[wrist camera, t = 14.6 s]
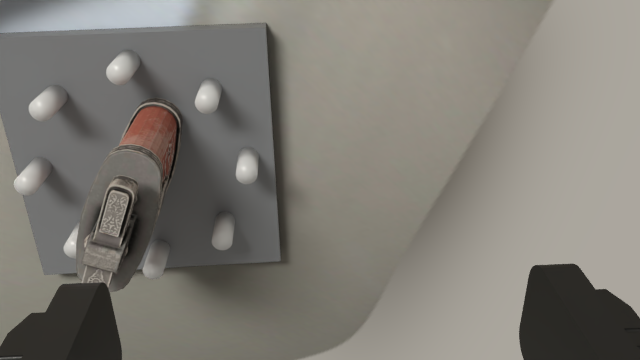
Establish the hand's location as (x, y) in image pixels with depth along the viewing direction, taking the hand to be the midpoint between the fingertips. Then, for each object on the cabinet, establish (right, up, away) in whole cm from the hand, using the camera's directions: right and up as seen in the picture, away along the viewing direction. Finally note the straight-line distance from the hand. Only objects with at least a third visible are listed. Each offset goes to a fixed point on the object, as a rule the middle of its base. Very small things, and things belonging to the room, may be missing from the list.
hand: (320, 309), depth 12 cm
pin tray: (-10, +4, +25) cm, 27 cm away
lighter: (-10, +4, +24) cm, 26 cm away
